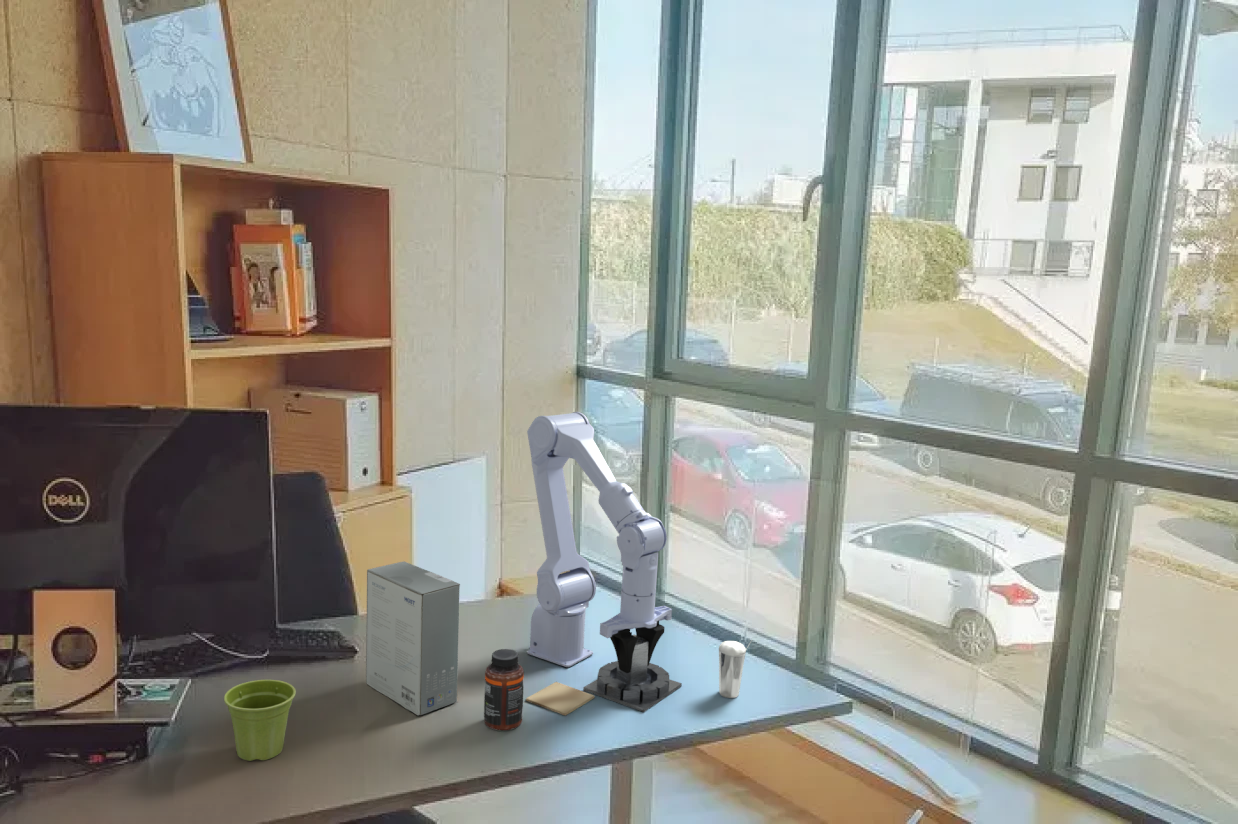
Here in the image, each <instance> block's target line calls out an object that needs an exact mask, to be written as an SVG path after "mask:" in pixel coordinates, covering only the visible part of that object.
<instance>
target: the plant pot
mask: <svg viewBox="0 0 1238 824" xmlns="http://www.w3.org/2000/svg"><path fill="white" fill-rule="evenodd" d="M296 694H297V690H296V688H295V687H294V686H293V684H291V683H289V682H286V681H282V680H279V679H278V680H276V679H258V680H257V679H256V680H250V681H247V682H242V683H240V684H237V685H235V686H233V687H231V688H230V689H228V690H227V691H226V693H225V694H224V696H223V700H224V701H223V702H224V703H225V705H226V706H227V709H228V712H229V714H230V718H231V722H232V731H233V733H234V734H233V735H234V742H235V743H234V744H235V749H236V755H237V756H238V757H239V758H240V759H242V760H244V761H250V762H252V761H255V760H260V761H267V760H271V759H272V758H275V757H276V756H278V755H279V754H281V753H282V752H283V749H284V744H285V737H286V730H287V723H288V717H289V712H290V708H291V706H292V704H293V703H292V701H293V700H294V698H295V697H296Z"/></svg>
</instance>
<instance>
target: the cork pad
mask: <svg viewBox="0 0 1238 824" xmlns="http://www.w3.org/2000/svg"><path fill="white" fill-rule="evenodd" d="M595 696H596V695H595V694H592V693H589V692H586V691H583V690H580V689H577V688H575V687H572V686H569V685H567V684H564V683H561V682H559V681H555V682H553V683H551V684H550V685H547V686H545V687H544V688H542V689H540V690H538V691H537V692H535V693H533V694H531V695H529V696H527V697H525V701H526V702H528V703H531V704H534V705H535V706H538V707H542V708H544V709H546V710H549V711H552V712H555V713H557V714H559V715H563V716H567V715H569V714H570V713H572V712H574V711H576V710H577V709H579V708H580V707H582V706H584V705H585V704H587V703H589V702H590V701H592V700H594V699H595V698H596V697H595Z"/></svg>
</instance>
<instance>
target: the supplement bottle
mask: <svg viewBox="0 0 1238 824" xmlns="http://www.w3.org/2000/svg"><path fill="white" fill-rule="evenodd" d="M490 661H491V663H490V664H489V665H488V666H486V668H485V671H484V698H483V699H484V701H483V702H484V705H483V719H484V720H483V722H484V725H485V726H486V727H487V728H489V729H491V730H495V731H502V732H503V731H504V732H505V731H511V730H514V729H516V728H518V727H520V725H522V722H523V717H524V715H523V714H524V713H523V711H524V710H523V709H524V704H523V703H524V683H525V681H524V680H525V679H524V678H525V677H524V675H525V671H524V668H523V666H522V665H520V663H519V654H518V652H517V651H516V650H514V649H510V648H500V649H497V650H495V651H493V652H492V654H491V660H490Z"/></svg>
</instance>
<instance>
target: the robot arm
mask: <svg viewBox="0 0 1238 824" xmlns="http://www.w3.org/2000/svg"><path fill="white" fill-rule="evenodd" d="M526 431H527V432H526V434H527V439H528V444H529V445H528V446H529V450H530V452H529V453H530V457H531V468H532V474H533V480H534V486H535V492H536V497H537V498H536V499H537V504H538V505H537V506H538V511H539V518H540V524H541V529H542V536H543V541H544V547H545V552H546V553H545V554H546V559H545V560H544V561H543V562H542V564H541V565H540V566H539V568H538V570H537V571H536V577H537V586H536V598H537V601H538V603H539V604H537V605H536V606H535V608H534V610H533V612H532V615H531V618H530V633H529V635H530V637H529V638H530V639H529V641H530V642H529V649H528V650H526V653H527V655H530V656H533V657H536V658H537V659H538V658H539V659H541V660H545V661H548V662H551V663H552V664H557V665H558V666H561V667H565V668H570V667H572V666H574V665H575V664H578V663H579V662H581V661H583V660H585V659H587V658H589V657H590V656H592V655H593V654H594V651H593V650H590V649H588V648H584V647H585V631H586V630H585V627H586V611H587V608H589V605H590V603H589V602H591V601H592V600H593V599H594V597H595V596H596V592H597V584H596V580H595V577H594V575H593V574H592V572H591V569H590V564H589V561H588V560H587V559H586V558H585V557H583V556H582V555H580V554H578V552H577V551H578V550H577V546H576V540H575V533H574V527H573V522H572V515H571V509H570V502H569V497H568V491H567V484H566V479H565V473H564V466H565V465H566V463H567V462H568V460H569V459H573V460H575V462H576V463H577V464H578V466H579V467H580V468H581V469H582V471H583V472H584V474H586V476H587V477H588V479H589V480H590V482H591V483H592V484H593V486H594V487H595V489H596V490H597V491H598V492H599V495H598V505H600V508H601V509H602V510H603V512H604V513H605V515H606V517H607V518H608V520H609V521H610V523H611V524H612V526H613V528H614V529H615V530H616V532H617V534H618V535H617V536H616V543H617V545H616V546H617V547H618V549H619V552H620V562H621V565H622V578H621V579H622V580H621V592H620V593H621V594H620V612H618V613H617V614H616V615H614V616H613V617H610V619H608V620H606V621H603V622H601V623H600V624H599V635H601V636H602V637H604V638H607V639H610V641H611V643H612V645H613V648H614V651H615V655H616V659H618V665H619V669H620V670H621V671H623V672H625V673H630V671H631V667H632V657H633V652H634V648H635V645H636V643H637V641H638V638H637V637H635V636H633V635H634V634H633V632H632V631H631V630H632V629H635V635H637V636H639V637H641V638H643V639H645V640H647V641H649V648H648V663H647V667H648V666H649V663H651V660H652V656H653V653H654V651H655V648H656V646H657V644H658V642H659V640H660V639H661V638H662V636H663V635H664V634H665V626H664V625H663V624H660V621H664V620H665V621H668V622H669V621H671V620H672V613H673V608H670V607H668V606H666V605H661V606H656V593H657V580H658V567H659V566H658V563H659V551H662V550H663V549H664V548H665V546H666V544H667V541H668V535H667V531H666V529H665V526H664V524H663V522H662V520H660V519H659V518H658V517H656V516H655V517H654V516H652V515H651V514H650V513H648V512H646V511H645V509H644V508H643V506H642V505H641V503H640V502H639V500H638V498H637V497H636V496H635V494H634V491H633V488H631V486H628V484H627V483H625V482H621V481H617V480H616V477H615V476H614V474H613V472H612V470H611V468H610V467H609V465H608V463H607V462H606V459H605V458H604V456H603V454H602V452H601V451H600V448H599V446H598V445H597V444H596V441H595V440H594V437H595V429H594V427H593V425H592V424H590V420H589V419H588V417H587V416H586V415H585V414H584V413H582V412H580V411H574V412H571V413H560V414H551V415H538V416H536V417H535V418H534V419H533V420H532V422H531V424H530V425H529V427H528V429H527V430H526Z"/></svg>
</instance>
